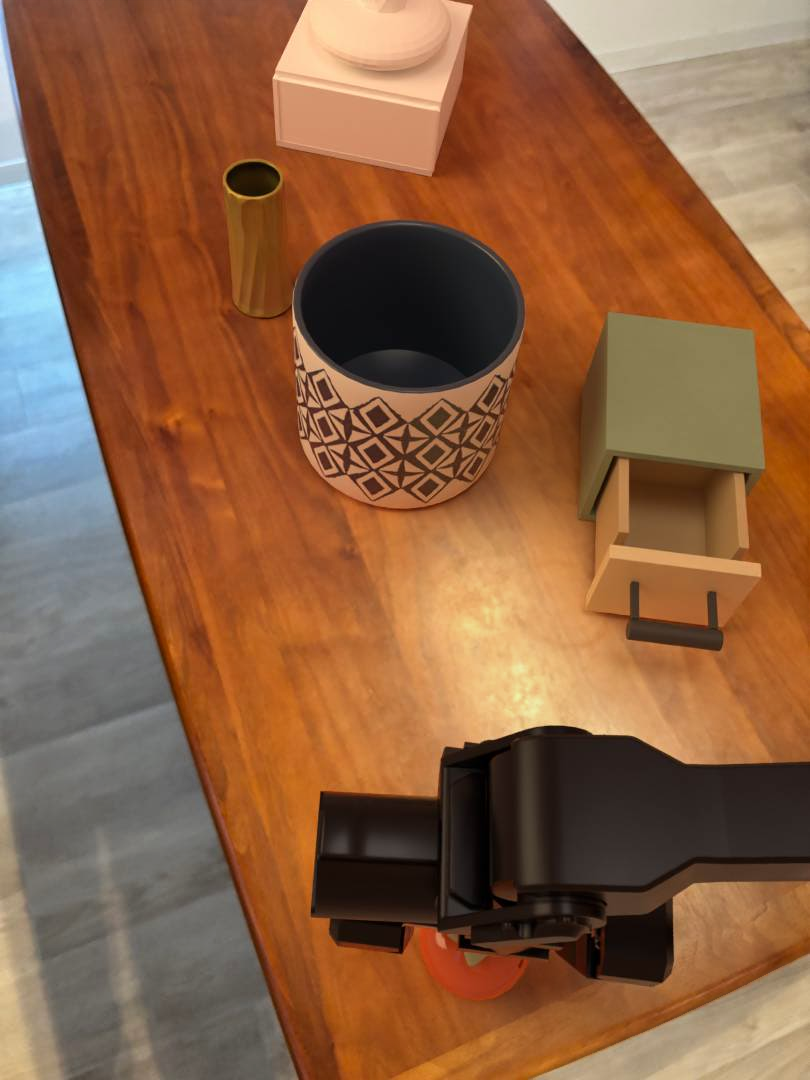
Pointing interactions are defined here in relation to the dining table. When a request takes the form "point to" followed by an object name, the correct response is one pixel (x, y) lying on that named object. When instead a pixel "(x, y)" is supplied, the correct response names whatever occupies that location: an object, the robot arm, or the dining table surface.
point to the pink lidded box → (372, 80)
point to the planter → (404, 360)
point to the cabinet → (670, 400)
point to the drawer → (671, 550)
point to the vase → (258, 238)
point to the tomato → (467, 968)
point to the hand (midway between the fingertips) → (483, 930)
